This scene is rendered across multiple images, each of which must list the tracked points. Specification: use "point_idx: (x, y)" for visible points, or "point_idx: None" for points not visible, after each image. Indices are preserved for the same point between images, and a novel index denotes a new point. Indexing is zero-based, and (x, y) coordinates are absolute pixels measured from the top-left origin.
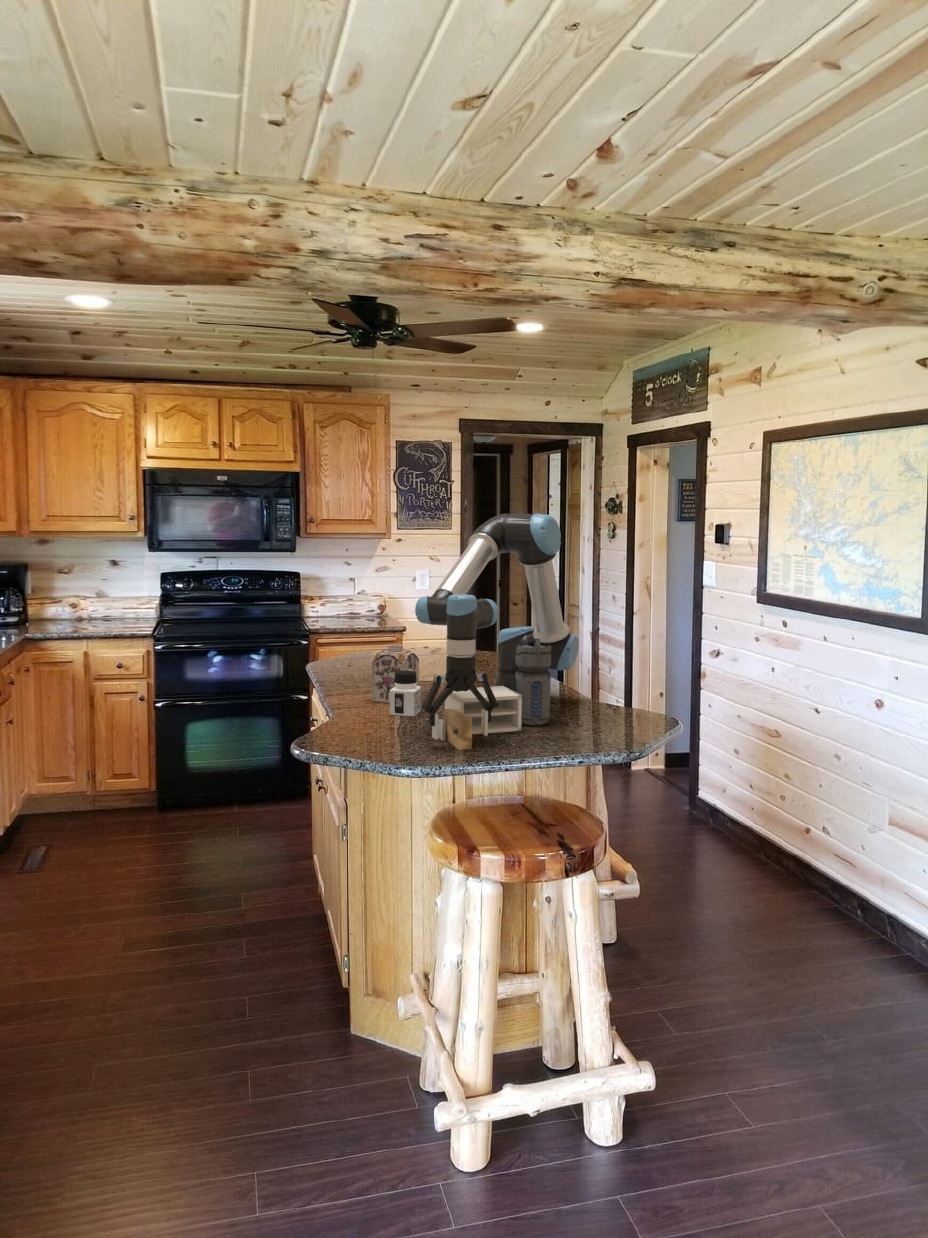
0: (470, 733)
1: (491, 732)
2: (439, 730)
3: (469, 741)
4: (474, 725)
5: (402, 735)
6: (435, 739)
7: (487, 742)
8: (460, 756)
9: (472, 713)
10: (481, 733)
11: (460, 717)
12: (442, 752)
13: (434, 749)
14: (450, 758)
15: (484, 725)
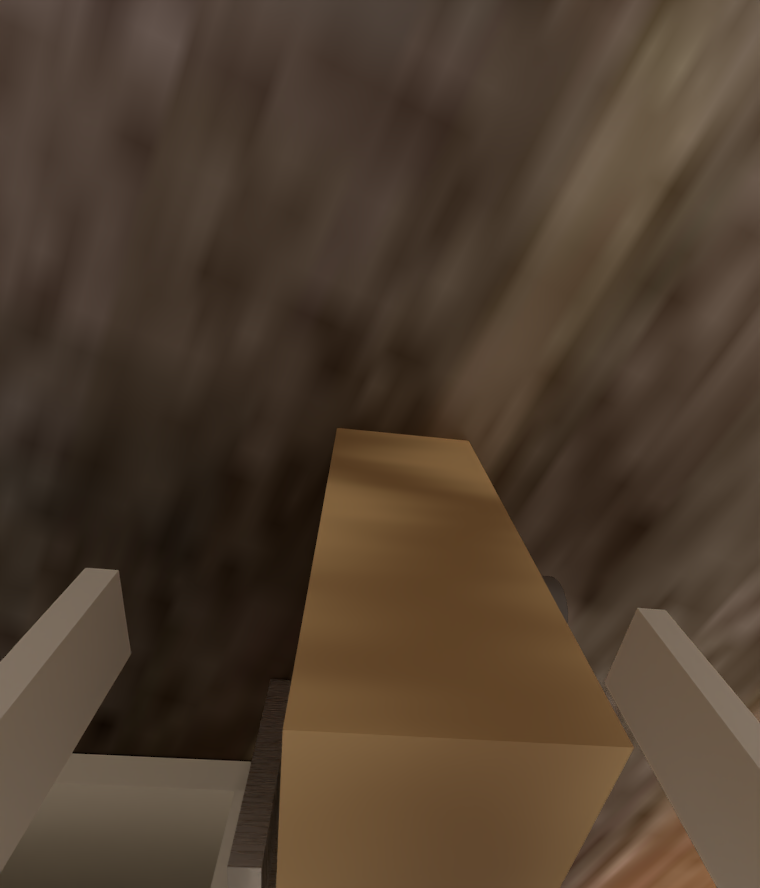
0: (345, 512)
1: None
2: None
3: (360, 463)
4: (104, 869)
5: (607, 838)
6: (663, 610)
7: (116, 559)
8: (592, 197)
9: None
10: (129, 649)
11: (503, 842)
12: (652, 418)
13: (647, 526)
14: (739, 162)
15: (44, 683)
